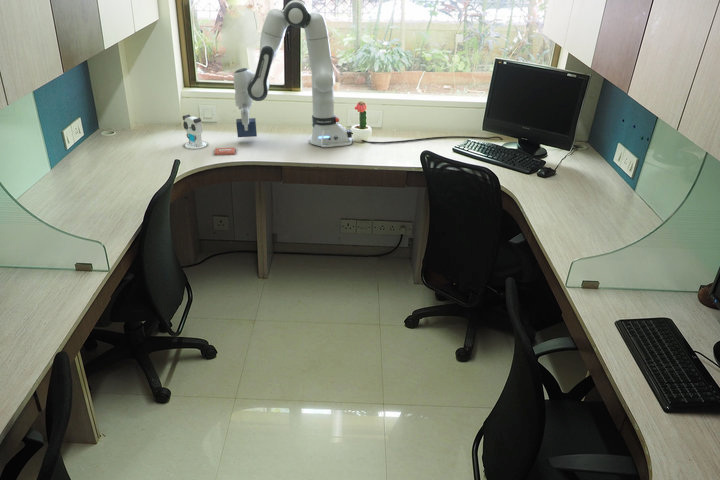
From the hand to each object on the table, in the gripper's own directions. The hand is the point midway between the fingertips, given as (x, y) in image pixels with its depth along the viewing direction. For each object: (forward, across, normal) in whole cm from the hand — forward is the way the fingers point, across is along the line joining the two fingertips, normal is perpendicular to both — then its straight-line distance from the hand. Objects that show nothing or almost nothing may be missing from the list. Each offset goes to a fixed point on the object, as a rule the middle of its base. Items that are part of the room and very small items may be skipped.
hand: (246, 128), depth 326 cm
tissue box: (+4, 0, 0) cm, 4 cm away
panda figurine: (+7, -2, +28) cm, 29 cm away
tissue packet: (+7, -15, +12) cm, 20 cm away
